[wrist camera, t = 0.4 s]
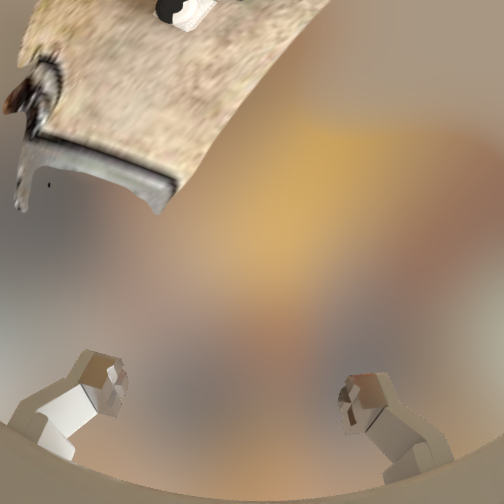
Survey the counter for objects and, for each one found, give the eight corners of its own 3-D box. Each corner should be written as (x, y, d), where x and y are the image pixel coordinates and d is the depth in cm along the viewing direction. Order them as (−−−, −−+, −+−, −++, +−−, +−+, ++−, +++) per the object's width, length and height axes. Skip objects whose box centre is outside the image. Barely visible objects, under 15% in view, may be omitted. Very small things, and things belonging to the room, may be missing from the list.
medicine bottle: (162, 14, 33) (141, 15, 25) (186, -15, 29) (169, -22, 21) (193, 30, 36) (180, 35, 29) (218, 2, 32) (210, -2, 24)
